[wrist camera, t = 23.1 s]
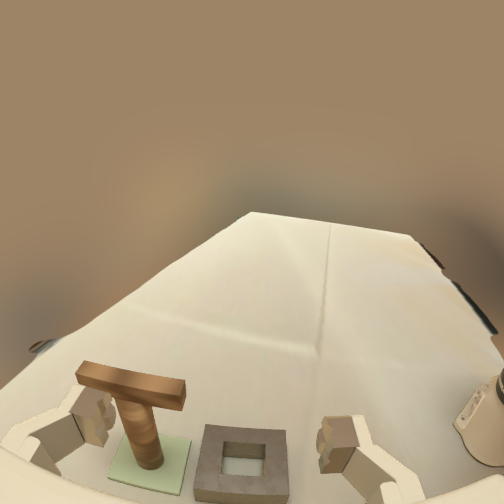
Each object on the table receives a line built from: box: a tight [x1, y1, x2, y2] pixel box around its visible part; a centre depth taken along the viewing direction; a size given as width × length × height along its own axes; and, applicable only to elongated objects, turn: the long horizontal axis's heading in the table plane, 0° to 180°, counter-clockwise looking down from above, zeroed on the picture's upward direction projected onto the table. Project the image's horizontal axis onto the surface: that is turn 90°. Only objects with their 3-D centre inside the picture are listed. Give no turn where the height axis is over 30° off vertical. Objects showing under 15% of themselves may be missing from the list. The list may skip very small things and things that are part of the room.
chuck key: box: [75, 360, 186, 470], centre depth 31 cm, size 12×4×16 cm, turn 88°
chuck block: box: [193, 424, 289, 504], centre depth 34 cm, size 11×11×4 cm
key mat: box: [107, 432, 191, 496], centre depth 34 cm, size 10×10×1 cm
